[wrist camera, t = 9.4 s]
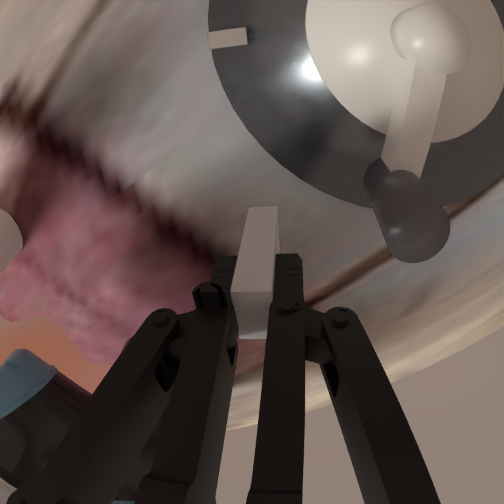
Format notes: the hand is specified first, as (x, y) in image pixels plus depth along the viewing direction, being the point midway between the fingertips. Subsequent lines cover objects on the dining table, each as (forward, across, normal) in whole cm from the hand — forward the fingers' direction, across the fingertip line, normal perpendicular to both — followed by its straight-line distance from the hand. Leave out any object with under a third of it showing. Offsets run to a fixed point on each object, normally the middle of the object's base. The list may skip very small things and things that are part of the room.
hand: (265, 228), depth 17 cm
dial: (+6, -10, -8) cm, 14 cm away
